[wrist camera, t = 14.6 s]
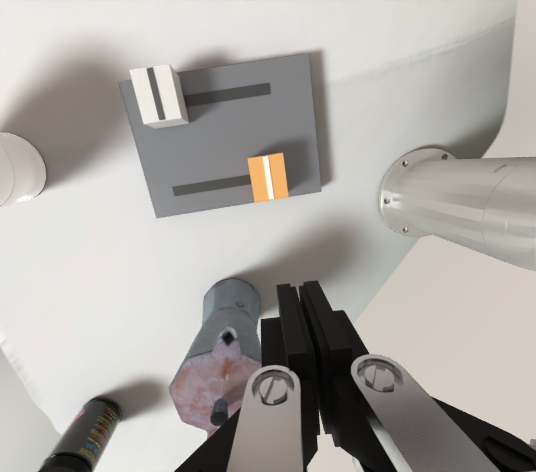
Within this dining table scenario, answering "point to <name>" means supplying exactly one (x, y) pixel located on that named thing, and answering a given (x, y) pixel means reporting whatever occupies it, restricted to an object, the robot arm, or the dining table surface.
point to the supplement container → (84, 438)
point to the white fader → (159, 96)
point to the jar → (19, 170)
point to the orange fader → (268, 177)
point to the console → (229, 135)
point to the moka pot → (219, 357)
